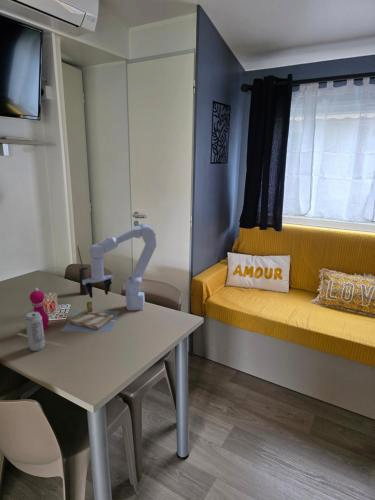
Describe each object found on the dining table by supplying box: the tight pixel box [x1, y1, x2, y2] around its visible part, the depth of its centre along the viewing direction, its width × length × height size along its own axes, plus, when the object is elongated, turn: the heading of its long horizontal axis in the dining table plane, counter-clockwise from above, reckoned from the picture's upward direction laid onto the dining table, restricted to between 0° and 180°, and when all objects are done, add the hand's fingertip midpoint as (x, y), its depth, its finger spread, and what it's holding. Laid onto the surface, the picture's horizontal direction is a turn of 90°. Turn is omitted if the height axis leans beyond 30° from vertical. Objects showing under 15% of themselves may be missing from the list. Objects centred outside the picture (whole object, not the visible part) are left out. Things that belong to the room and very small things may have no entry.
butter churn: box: [77, 245, 89, 296], centre depth 187 cm, size 9×10×28 cm
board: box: [60, 310, 120, 333], centre depth 157 cm, size 22×20×1 cm
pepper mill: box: [29, 287, 50, 331], centre depth 148 cm, size 7×7×20 cm
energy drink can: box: [24, 311, 46, 352], centre depth 134 cm, size 6×6×15 cm
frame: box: [68, 301, 114, 329], centre depth 156 cm, size 16×12×6 cm
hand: (98, 295), depth 164 cm, fingers open, 7 cm apart
